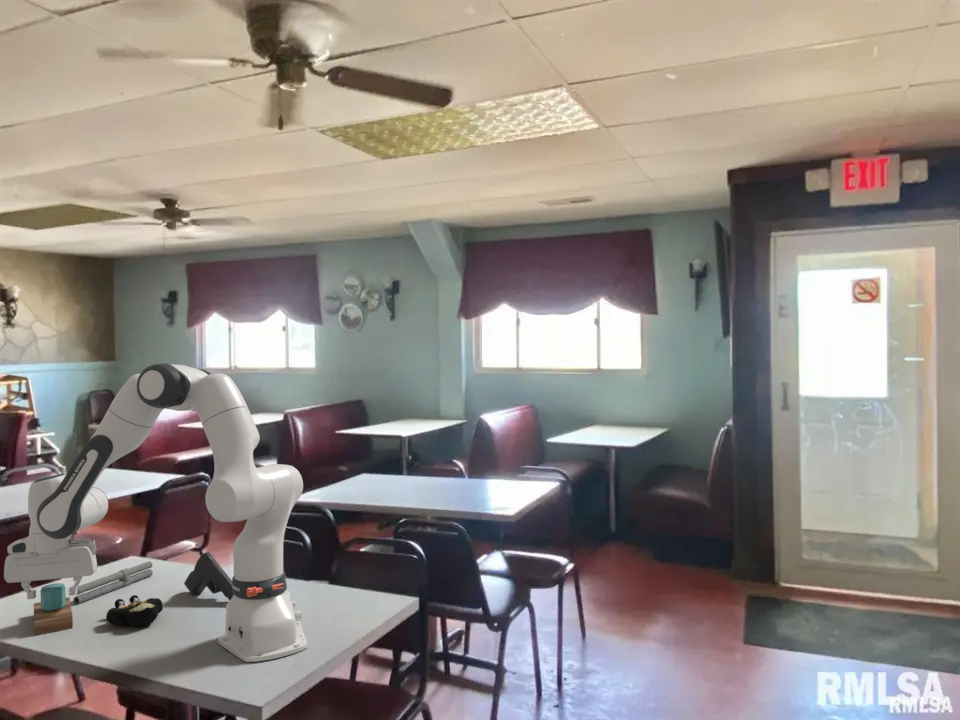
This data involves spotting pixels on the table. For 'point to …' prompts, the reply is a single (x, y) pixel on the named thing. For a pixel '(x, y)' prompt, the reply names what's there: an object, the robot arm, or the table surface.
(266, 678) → the table surface
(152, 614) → the toy
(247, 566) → the robot arm
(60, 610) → the stud block
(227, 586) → the pistol
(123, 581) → the metal rod assembly
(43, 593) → the cap
